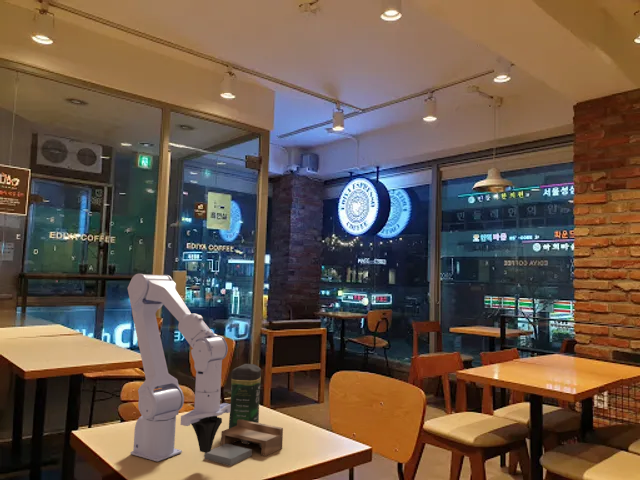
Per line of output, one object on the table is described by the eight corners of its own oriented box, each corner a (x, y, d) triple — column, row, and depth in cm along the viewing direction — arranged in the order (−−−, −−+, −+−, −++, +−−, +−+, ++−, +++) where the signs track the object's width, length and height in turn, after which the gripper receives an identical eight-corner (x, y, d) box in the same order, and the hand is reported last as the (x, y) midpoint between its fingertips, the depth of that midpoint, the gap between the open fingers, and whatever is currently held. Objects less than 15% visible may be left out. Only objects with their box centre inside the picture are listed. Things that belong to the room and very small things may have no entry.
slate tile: (204, 461, 118) (204, 452, 118) (225, 451, 125) (226, 443, 125) (230, 467, 114) (231, 458, 114) (251, 457, 121) (251, 449, 121)
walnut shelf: (220, 445, 127) (221, 425, 128) (239, 438, 134) (239, 419, 134) (265, 456, 121) (266, 435, 121) (282, 447, 127) (282, 427, 128)
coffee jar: (253, 437, 135) (256, 368, 137) (225, 435, 136) (228, 366, 138) (261, 427, 145) (264, 362, 147) (235, 425, 146) (238, 361, 147)
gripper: (199, 398, 105) (195, 464, 104) (241, 386, 118) (239, 445, 116) (174, 393, 109) (171, 457, 107) (218, 383, 121) (216, 440, 120)
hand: (205, 451), depth 112 cm, fingers closed
